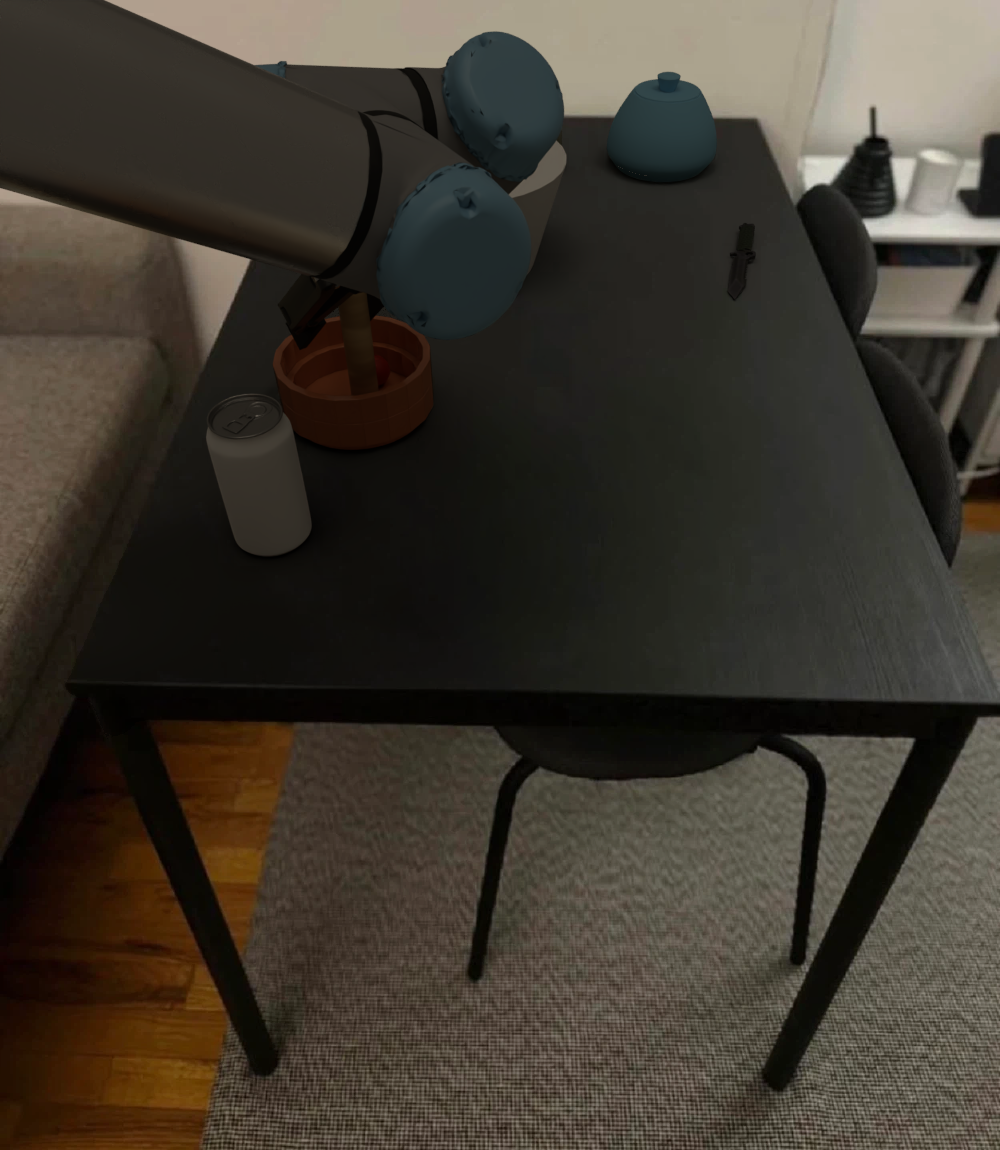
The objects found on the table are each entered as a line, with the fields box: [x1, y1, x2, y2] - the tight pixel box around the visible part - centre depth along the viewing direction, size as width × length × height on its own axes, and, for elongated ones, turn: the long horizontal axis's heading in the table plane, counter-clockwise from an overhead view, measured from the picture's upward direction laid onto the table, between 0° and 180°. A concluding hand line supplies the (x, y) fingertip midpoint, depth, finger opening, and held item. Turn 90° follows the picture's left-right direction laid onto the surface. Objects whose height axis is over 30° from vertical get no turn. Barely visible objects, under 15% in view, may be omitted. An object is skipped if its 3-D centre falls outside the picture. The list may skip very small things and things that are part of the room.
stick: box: [338, 292, 379, 396], centre depth 83 cm, size 3×3×18 cm
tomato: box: [374, 355, 390, 386], centre depth 91 cm, size 3×3×3 cm
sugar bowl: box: [606, 71, 718, 183], centre depth 127 cm, size 15×15×12 cm
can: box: [205, 393, 313, 558], centre depth 74 cm, size 6×6×12 cm
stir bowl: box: [272, 315, 434, 451], centre depth 89 cm, size 14×14×6 cm
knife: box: [727, 222, 757, 300], centre depth 110 cm, size 18×1×3 cm
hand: (328, 322), depth 87 cm, fingers open, 6 cm apart
